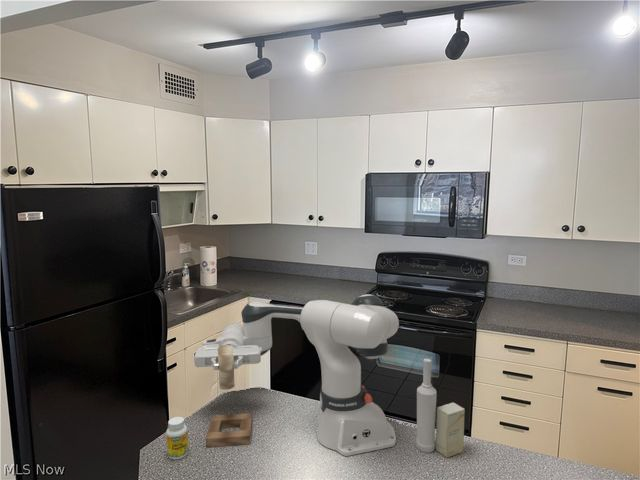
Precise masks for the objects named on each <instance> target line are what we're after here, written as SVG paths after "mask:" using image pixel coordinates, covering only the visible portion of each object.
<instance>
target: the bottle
mask: <svg viewBox="0 0 640 480" xmlns="http://www.w3.org/2000/svg"><path fill="white" fill-rule="evenodd" d="M422 362H423V365H422V366H423V369H422V370H423V371H422V372H423V373H422V375H423V376H422V383H421V385H419V386H418V387H417V389H416V439H415V445H416V449H417V450H418V451H420V452H422V453H425V454H428V453H429V454H430V453H432V452H434V451H435V449H436V440H435V437H436V417H437V394H438V393H437V389H435V388H434V386H433V384H432V383H431V381H432V360H431V358H424V359H423V360H422Z"/></svg>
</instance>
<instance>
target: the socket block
mask: <svg viewBox="0 0 640 480" xmlns="http://www.w3.org/2000/svg"><path fill="white" fill-rule="evenodd" d="M229 428H239V430H230V431H229V430H228V431H227V430H226V431H222V429H229ZM252 428H253V412H248V413H233V414H231V413H229V414H216V415H211V419H210V422H209V425H208V428H207V429H208V430H207V432H206V437H205V447H206V448H215V447H216V448H217V447H227V446H229V447H230V446H231V447H233V446H243V445H251V437H252Z"/></svg>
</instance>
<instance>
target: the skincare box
mask: <svg viewBox="0 0 640 480" xmlns="http://www.w3.org/2000/svg"><path fill="white" fill-rule="evenodd" d="M465 413H466V411H465V408H464V407H462V406H460V405H459V404H457V403H455V402H450V403H446V404H444V405H440V406H438V407H437V406H436V422H435V450H436V451H438V452H439V453H440V454H441V455H442V456H444V457H445V458H449V457H453V456H455V455H458V454H460V453H462V452H464V443H465V442H464V439H465V436H464V435H465Z"/></svg>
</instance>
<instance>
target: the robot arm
mask: <svg viewBox="0 0 640 480" xmlns="http://www.w3.org/2000/svg"><path fill="white" fill-rule="evenodd" d="M240 313H241V319H242V324H243V325H242V324H240V323H238V322H234V323H231V324H228V325H227V326H226V327H224V329H223V330H222V332H221V334H220V336H219V337H217V338H213V339H207V340H204V341H203V342H202V346H199V348H198V349H197V350H196V352H195V354H194V356H193V359H194V361H193V362H194V366H195V367H196V368H207V367H210V368H211V367H212V368H213V371H219V365H218V347H220V346H223V345H231V346H233V361H234V363H233V369H234V370H235V369H236V370H237V369H239V368H240V367H241V366H242V365H243V366H244V365H257V364H259V363H261V362H262V361H261V358H262V357H261V356H264V355H265V354H266V353H268V352H269V351H270V350H271V349H272V348H273V333H272V318H281V319H289V320H290V319H292V320H296V321H298V323H300V326H301V329H302V330H303V331H304V333H305V335H306V337H307V339H308V341H309V342H310V343H311V344H312V345H313V346H314V347H315V350H316V353H317V354H318V358H319V362H320V370H321V387H320V393H319V407H320V419H319V425H318V428H317V431H316V438H317V441H318V442H319V444H321V445H322V446H324V447H325V448H328V449H329V450H334V451H335V452H337V453H339V454H340V455H342V456H344V457H347V456H354V455H358V454H364V453H368V452H372V451H373V452H374V451H378V450H383V449H387V448H392V447H394V446H395V445H396V443H397V437H396V434H397V433H396V431H395V429H394V427H393V425H392V424H391V422H389V421H388V420H387V417H386V415H385V413H384V411H383V409H382V408H381V407H380V406H379V405H378V404H376V403H375V402H373V397H372V396H371V394H369V392H368V390H367V388H365V386H364V385H363V384H362V366H361V361H360V360H359V358H358V357H357V356H356V354H354V353H353V352H352V351H351V349H350V348H349V347H351V348H352V350H356V352H357V354H358V355H360V356H361V357H362V358H365V359H368V360H376V359H377V360H378V359H379V358H382V356H385V355H387V353H388V348H389V347H388V345H389V343H388V341H387V339H389V338H391V337H393V336H394V335H395V334H396V333H397V331H398V329H399V326H400V322H399V318H398V315H397V314H396V313H395V312H394V311H393V310H391V309H390V308H388V307H384V303H383V302H382V300H381V298H379V296H378V295H374V294H370V293H368V294H367V293H366V294H363V295H360V296H358V297H356V298H355V299H354V300H353V302H352V304H351V303H350V304H349V303H346V302H345V303H344V302H339V301H333V300H328V299H316V300H309V301H308V302H306V304H305V305H304V306H299V305H290V304H277V303H269V302H263V301H250V302H247V304H246V305H245V306H244V307H243V308H242V310H241V312H240Z"/></svg>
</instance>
